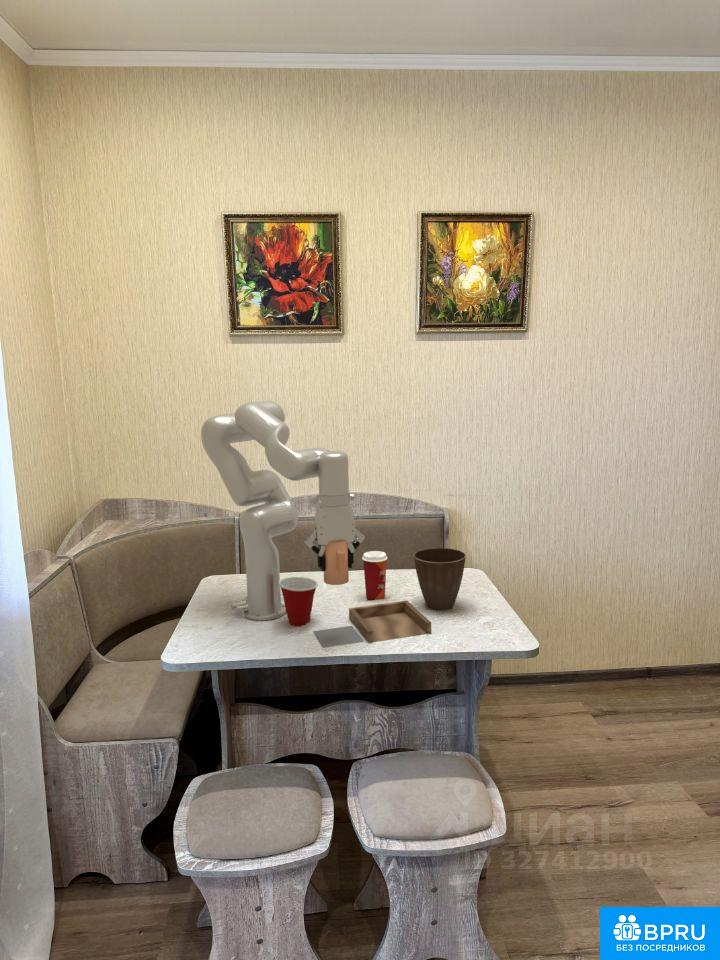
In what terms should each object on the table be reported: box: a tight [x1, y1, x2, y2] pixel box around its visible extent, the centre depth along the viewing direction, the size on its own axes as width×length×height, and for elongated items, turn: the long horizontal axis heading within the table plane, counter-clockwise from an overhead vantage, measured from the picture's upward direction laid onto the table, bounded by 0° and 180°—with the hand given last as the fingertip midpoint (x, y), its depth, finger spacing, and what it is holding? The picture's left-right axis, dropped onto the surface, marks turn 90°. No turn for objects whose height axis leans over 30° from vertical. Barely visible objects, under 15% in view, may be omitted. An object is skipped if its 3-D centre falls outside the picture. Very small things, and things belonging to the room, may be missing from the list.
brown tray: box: [348, 600, 432, 644], centre depth 185 cm, size 17×17×4 cm
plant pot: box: [413, 547, 467, 612], centre depth 198 cm, size 15×15×16 cm
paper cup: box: [361, 550, 388, 602], centre depth 207 cm, size 8×8×14 cm
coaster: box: [312, 625, 365, 649], centre depth 179 cm, size 11×11×1 cm
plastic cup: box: [279, 576, 319, 627], centre depth 189 cm, size 11×11×12 cm
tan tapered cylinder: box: [323, 541, 350, 586], centre depth 174 cm, size 9×6×11 cm
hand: (335, 567), depth 176 cm, fingers closed on tan tapered cylinder, 6 cm apart
